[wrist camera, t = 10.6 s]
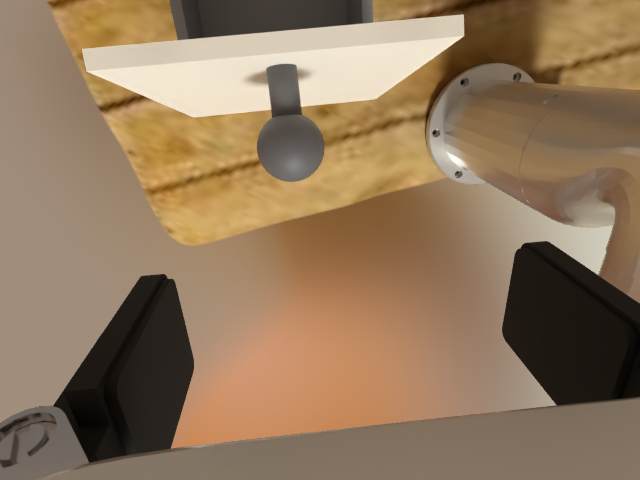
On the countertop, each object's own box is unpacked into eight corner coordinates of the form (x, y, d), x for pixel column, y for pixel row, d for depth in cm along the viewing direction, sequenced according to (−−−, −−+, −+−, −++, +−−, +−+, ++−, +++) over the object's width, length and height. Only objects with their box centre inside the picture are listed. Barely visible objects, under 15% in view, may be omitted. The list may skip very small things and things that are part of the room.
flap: (463, 14, 16) (467, 165, 17) (374, 89, 32) (380, 162, 34) (81, 49, 15) (115, 204, 16) (191, 107, 32) (204, 181, 33)
